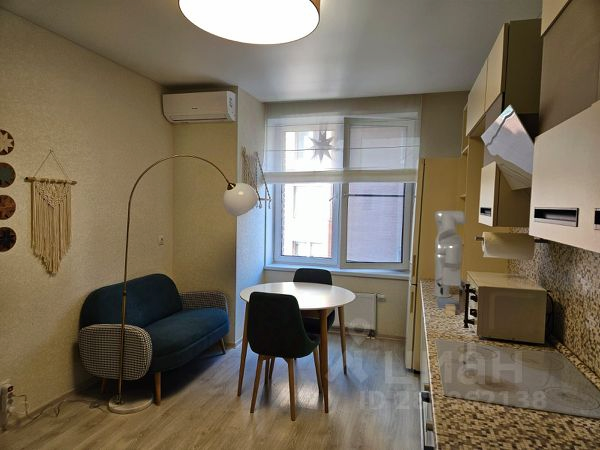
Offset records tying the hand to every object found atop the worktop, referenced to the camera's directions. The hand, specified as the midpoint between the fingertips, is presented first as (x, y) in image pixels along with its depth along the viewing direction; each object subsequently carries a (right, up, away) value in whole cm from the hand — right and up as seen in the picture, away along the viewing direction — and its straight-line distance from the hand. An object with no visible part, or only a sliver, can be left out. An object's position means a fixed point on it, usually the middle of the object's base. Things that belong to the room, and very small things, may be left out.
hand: (450, 295), depth 213 cm
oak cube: (0, -11, +1) cm, 11 cm away
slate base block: (+5, -11, +17) cm, 20 cm away
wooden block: (+12, -11, +5) cm, 17 cm away
